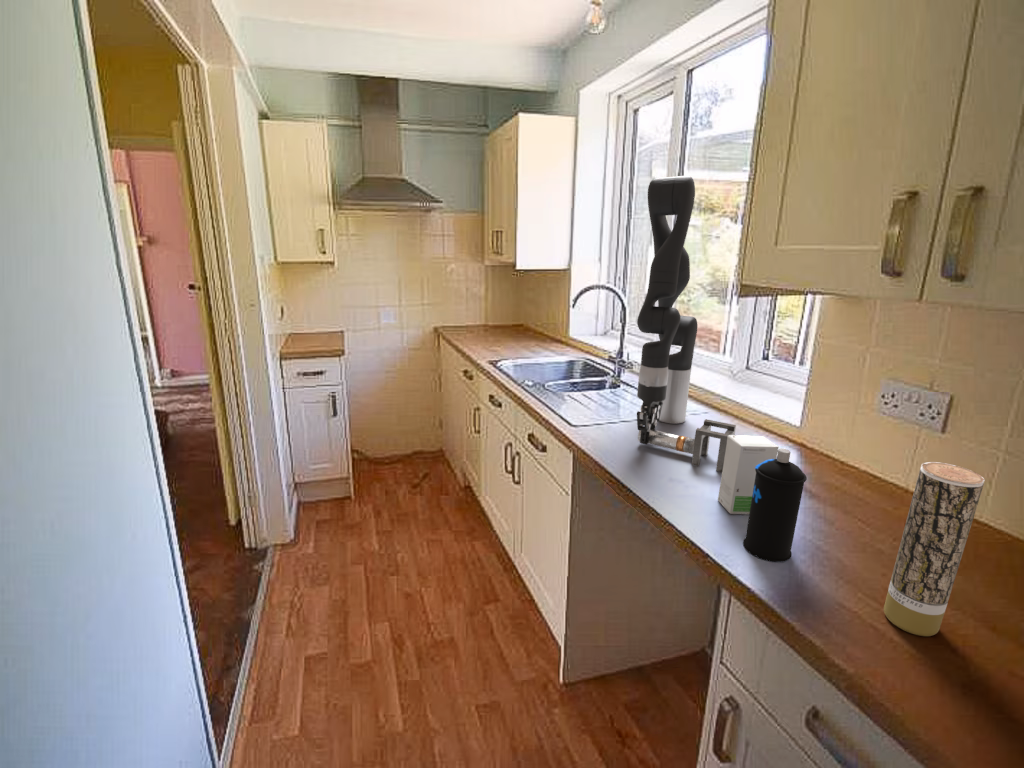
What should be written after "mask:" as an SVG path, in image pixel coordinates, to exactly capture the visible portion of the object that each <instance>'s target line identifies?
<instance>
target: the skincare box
mask: <svg viewBox="0 0 1024 768" xmlns="http://www.w3.org/2000/svg"><path fill="white" fill-rule="evenodd" d="M778 449H780V447H779V446H778V445H777V444H775V443H774V442H772V441H771V440H770V439H768V438H767V437H765V436H763V435H762V436H761V435H749V434H743V435H739V434H738V435H728V436H727V446H726V452H725V458H724V465H723V471H722V472H721V478H720V484H719V491H718V497H717V500H718V502H719V503H720V504H721V505H722V506H723V508H724V509H725V510H726V511H727V512H728V513H729V514H730V515H749V513H750V507H751V500H752V494H753V488H754V482H755V476H756V471H755V467H756V466H757V465H758V464H760V463H762V462H764V461H766V460H770V459H777V455H778Z"/></svg>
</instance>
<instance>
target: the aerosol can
mask: <svg viewBox="0 0 1024 768" xmlns="http://www.w3.org/2000/svg"><path fill="white" fill-rule="evenodd" d="M790 456H791V450H789V449H787V448H778V453H777V458H776V459H770V460H766V461H764V462H762V463H760V464H758V465H757V466H756V467H755V471H756V476H755V482H754V488H753V494H752V500H751V507H750V513H749V514H748V520H747V526H746V531H745V532H746V533H745V538H744V539H743V541H742V545H743V547H744V549H745V550H746V552H747V553H749V554H751V555H752V556H754V557H756V558H758V559H760V560H763V561H765V562H766V561H767V562H771V563H784V562H787V561H789V560H790V559H791V557H792V555H793V553H792V546H793V542H794V537H795V532H796V531H795V530H796V528H797V521H798V516H799V510H800V505H801V502H802V497H803V496H802V495H803V491H804V486H805V483H806V481H807V476H806V475H807V474H805V473H804V472H803V470H802V469H801V468H800V467H799V466H798V465H797V464H795V463H794V462H791V461H790V458H791V457H790Z"/></svg>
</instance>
